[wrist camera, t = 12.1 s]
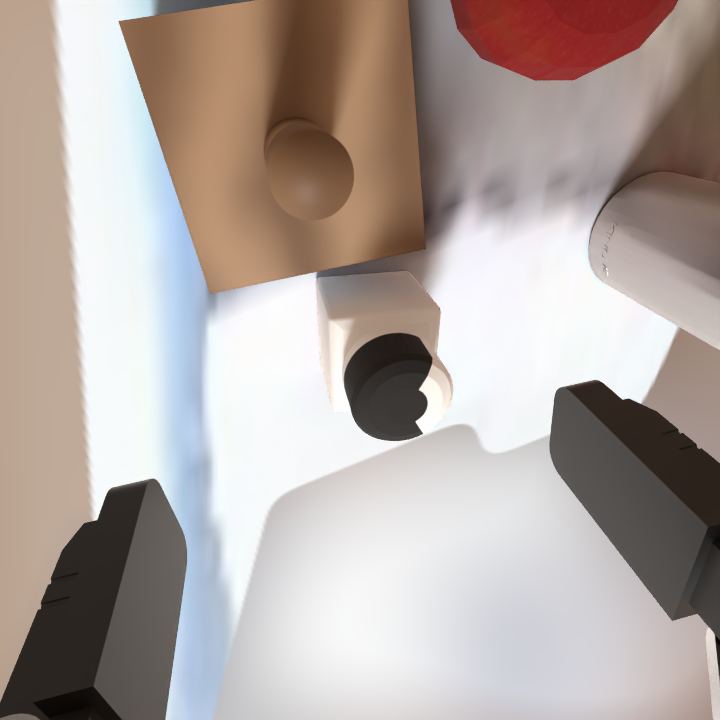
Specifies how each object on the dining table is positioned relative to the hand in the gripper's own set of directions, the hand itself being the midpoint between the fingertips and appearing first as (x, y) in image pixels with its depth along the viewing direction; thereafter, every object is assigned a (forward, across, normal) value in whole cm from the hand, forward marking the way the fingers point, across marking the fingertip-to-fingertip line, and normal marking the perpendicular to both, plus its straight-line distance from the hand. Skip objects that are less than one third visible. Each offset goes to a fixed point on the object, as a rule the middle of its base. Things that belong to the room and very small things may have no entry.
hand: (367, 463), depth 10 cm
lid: (+21, -1, -3) cm, 21 cm away
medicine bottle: (+26, -4, +10) cm, 28 cm away
